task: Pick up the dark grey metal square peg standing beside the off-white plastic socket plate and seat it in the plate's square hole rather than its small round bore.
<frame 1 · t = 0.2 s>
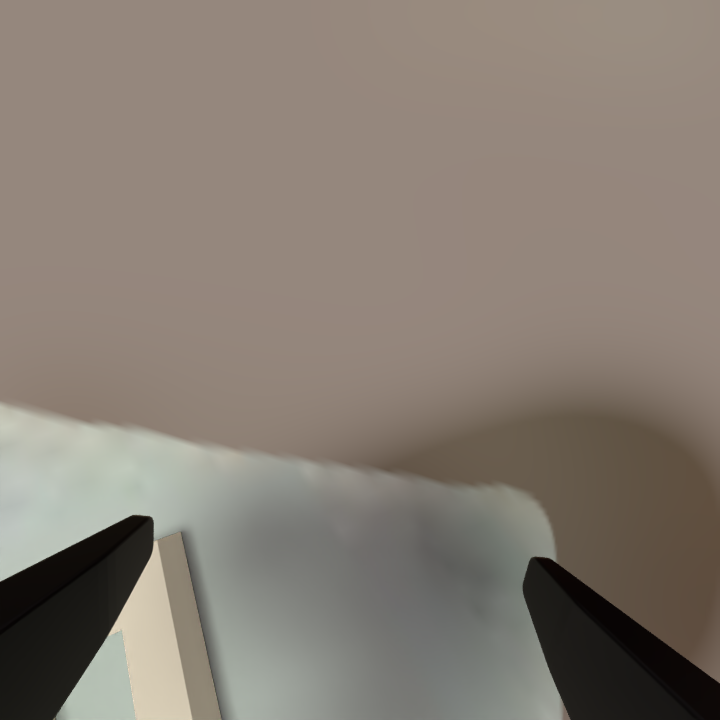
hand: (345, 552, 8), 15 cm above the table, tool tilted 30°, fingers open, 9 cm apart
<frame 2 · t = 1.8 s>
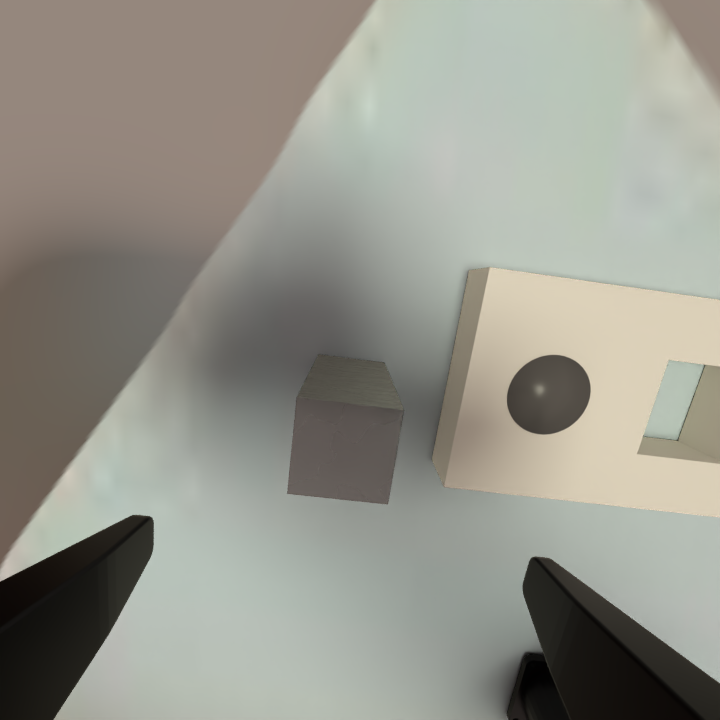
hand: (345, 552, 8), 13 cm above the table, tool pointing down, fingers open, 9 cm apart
socket plate: (590, 388, 21), on the table
square peg: (347, 389, 21), on the table
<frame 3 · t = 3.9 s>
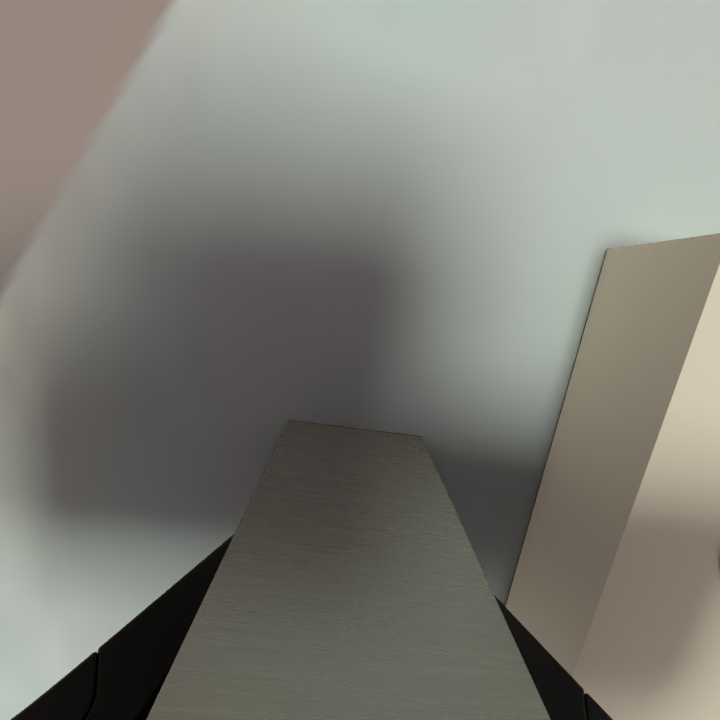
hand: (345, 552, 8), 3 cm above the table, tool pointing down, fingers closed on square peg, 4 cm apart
square peg: (347, 488, 10), on the table, touching gripper
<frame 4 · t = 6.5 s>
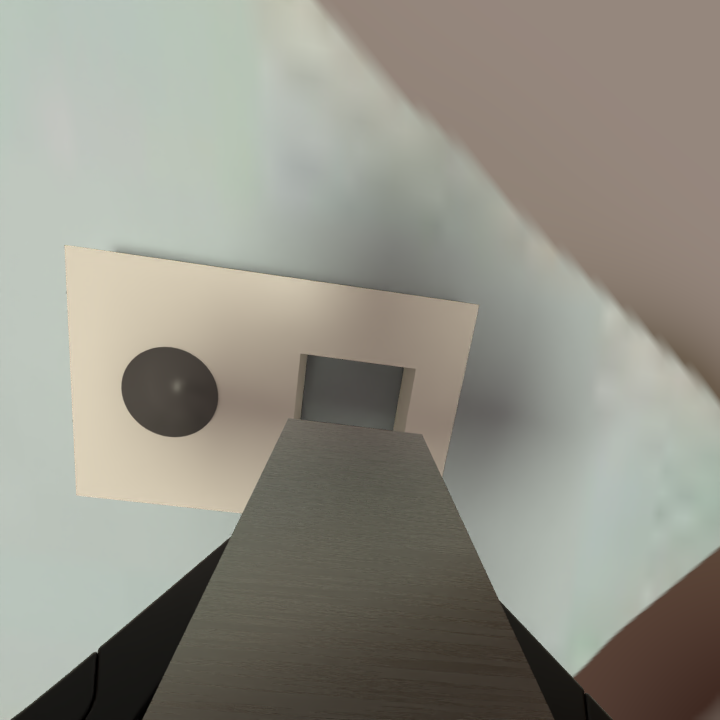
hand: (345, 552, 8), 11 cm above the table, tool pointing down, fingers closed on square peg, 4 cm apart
socket plate: (280, 386, 19), on the table
square peg: (347, 486, 10), point 9 cm above the table, touching gripper
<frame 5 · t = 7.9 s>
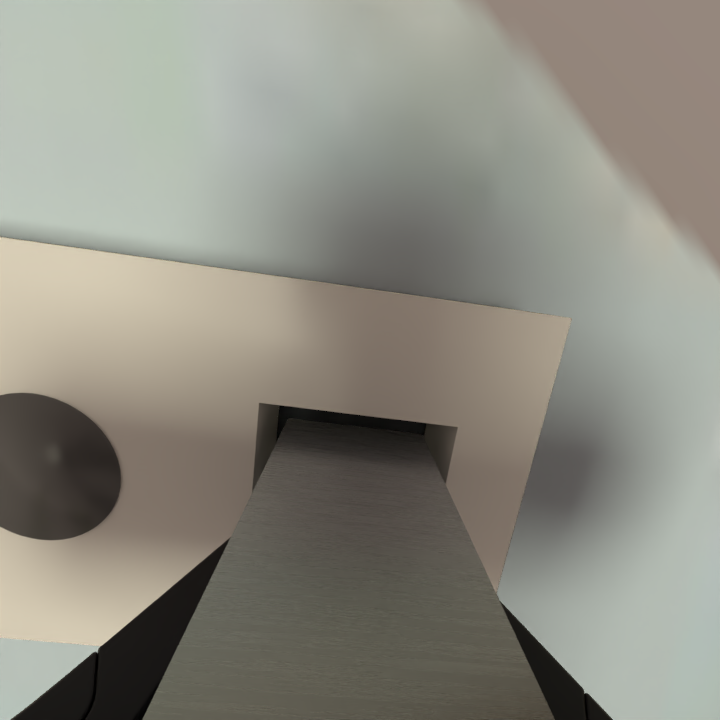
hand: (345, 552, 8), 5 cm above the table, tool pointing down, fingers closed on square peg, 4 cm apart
socket plate: (240, 439, 12), on the table
square peg: (347, 485, 10), point 2 cm above the table, touching gripper
when the fingers open (4 cm above the table, at t = 9.2 s): square peg drops 1 cm, resting in socket plate.
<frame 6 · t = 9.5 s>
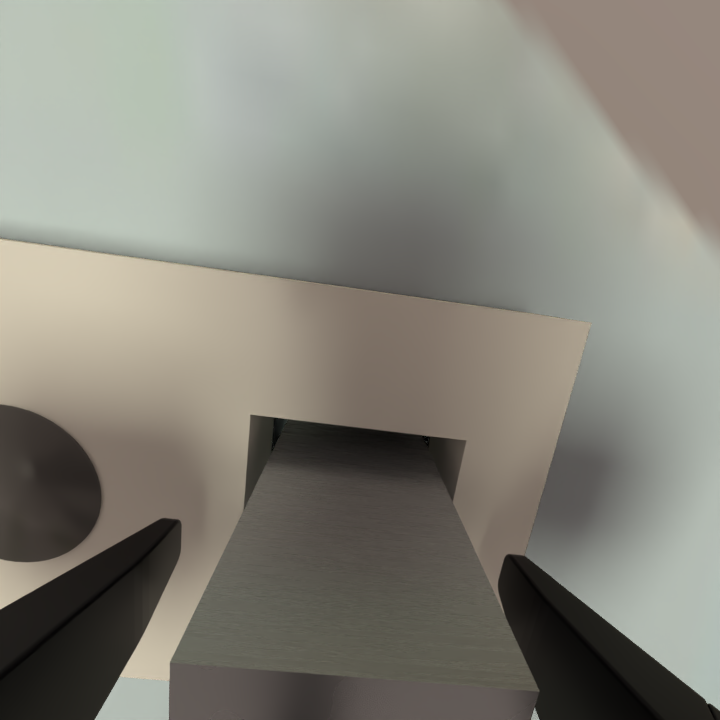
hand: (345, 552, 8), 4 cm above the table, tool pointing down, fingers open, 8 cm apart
socket plate: (233, 449, 12), on the table
square peg: (347, 461, 12), resting in socket plate
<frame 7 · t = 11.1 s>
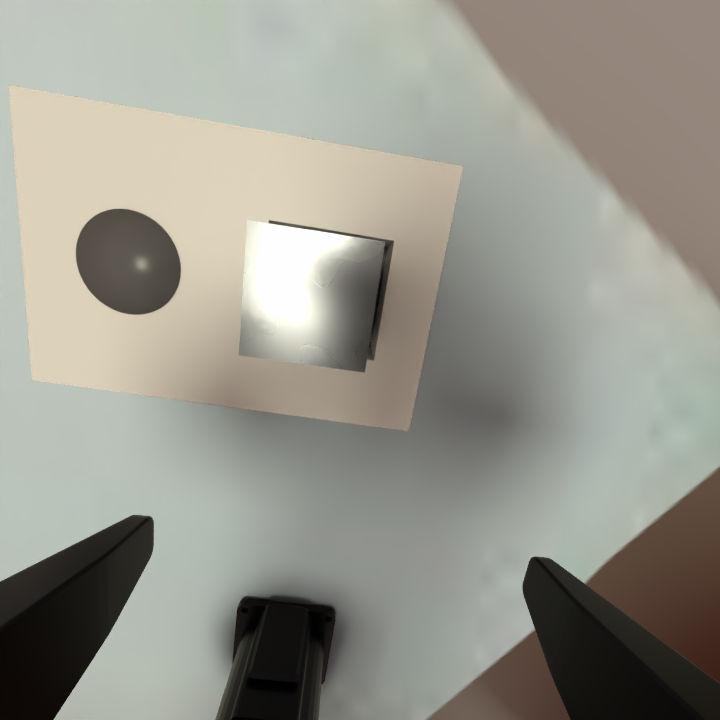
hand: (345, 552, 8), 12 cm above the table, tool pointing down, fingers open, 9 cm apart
socket plate: (253, 279, 18), on the table
square peg: (329, 290, 18), resting in socket plate
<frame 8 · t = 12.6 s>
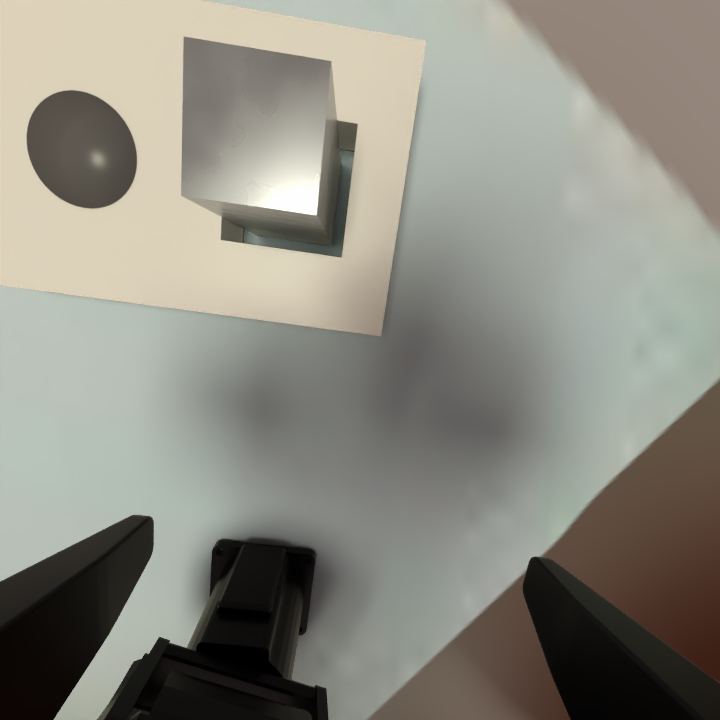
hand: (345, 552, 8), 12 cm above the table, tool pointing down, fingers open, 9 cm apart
socket plate: (220, 188, 17), on the table
square peg: (298, 200, 17), resting in socket plate
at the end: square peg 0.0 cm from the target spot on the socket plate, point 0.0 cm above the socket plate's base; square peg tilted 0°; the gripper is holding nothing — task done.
